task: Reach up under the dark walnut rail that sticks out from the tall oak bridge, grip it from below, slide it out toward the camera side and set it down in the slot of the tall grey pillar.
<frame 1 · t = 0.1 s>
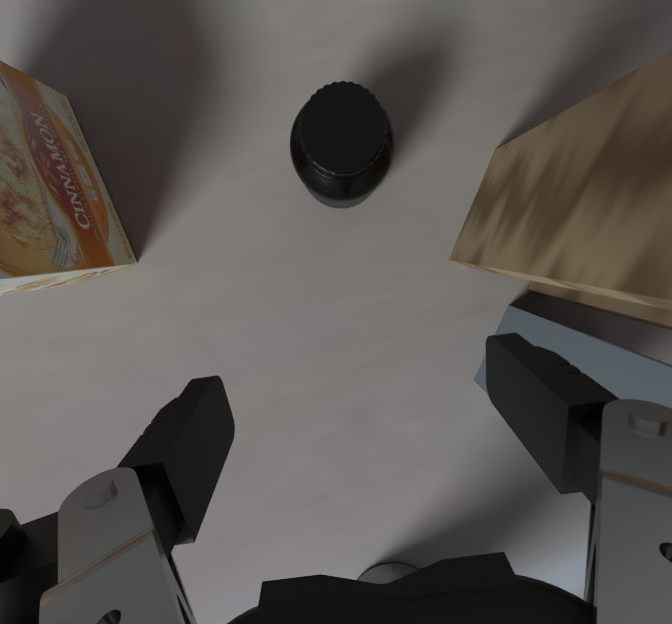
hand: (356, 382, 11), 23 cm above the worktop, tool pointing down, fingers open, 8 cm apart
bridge: (522, 225, 31), on the worktop
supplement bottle: (340, 170, 31), on the worktop
tall grey pillar: (537, 360, 34), on the worktop
coffeecake box: (71, 194, 31), on the worktop
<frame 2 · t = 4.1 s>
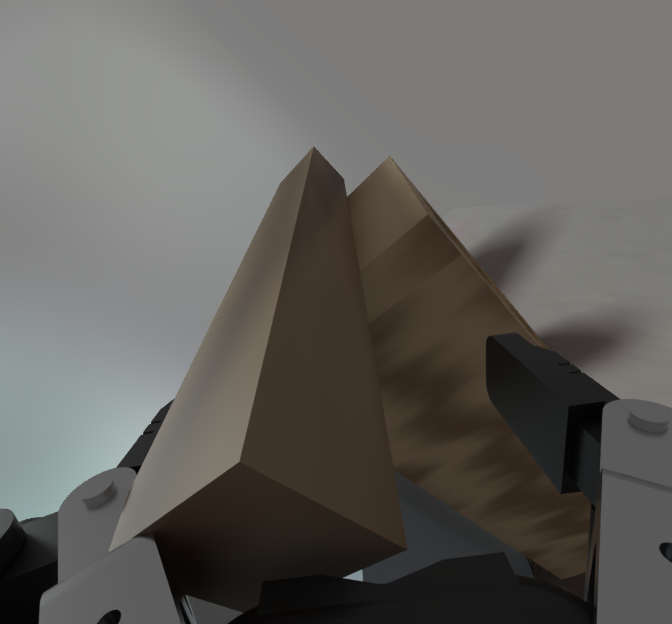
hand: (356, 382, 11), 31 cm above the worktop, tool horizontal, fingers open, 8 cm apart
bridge: (586, 495, 30), on the worktop
rail: (325, 266, 16), point 32 cm above the worktop, touching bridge
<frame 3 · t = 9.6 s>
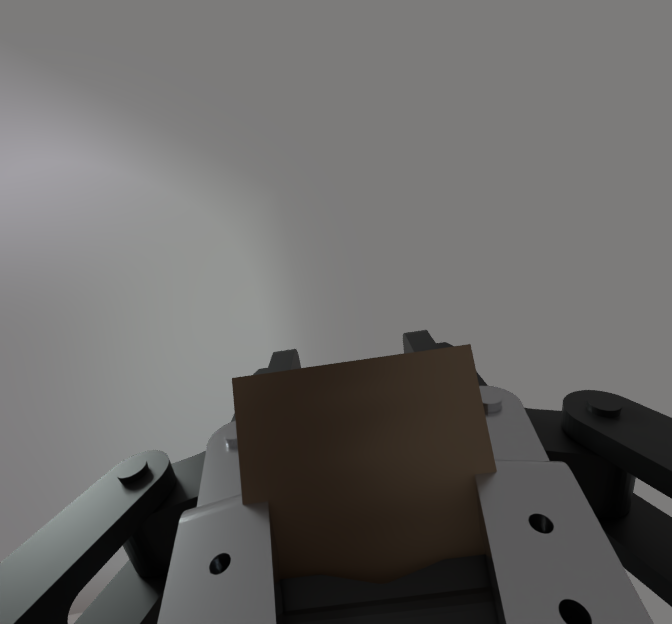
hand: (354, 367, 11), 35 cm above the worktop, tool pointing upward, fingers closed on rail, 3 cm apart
rail: (364, 434, 16), point 32 cm above the worktop, touching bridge, gripper
when the fingers open (25 cm above the worktop, at t = 16.8 s): rail drops 1 cm, resting on tall grey pillar.
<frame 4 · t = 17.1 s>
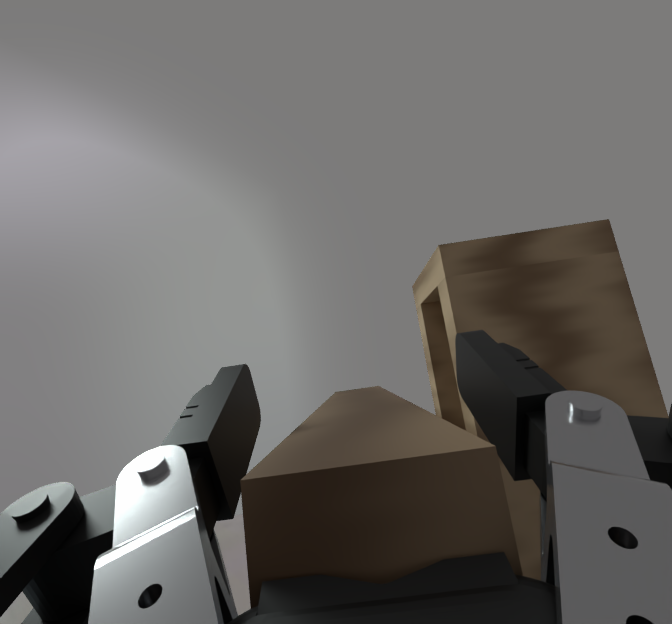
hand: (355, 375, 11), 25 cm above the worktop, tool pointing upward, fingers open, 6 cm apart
rail: (368, 466, 16), point 21 cm above the worktop, touching tall grey pillar
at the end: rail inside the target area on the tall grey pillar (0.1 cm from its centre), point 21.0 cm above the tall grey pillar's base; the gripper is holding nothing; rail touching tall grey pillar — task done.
